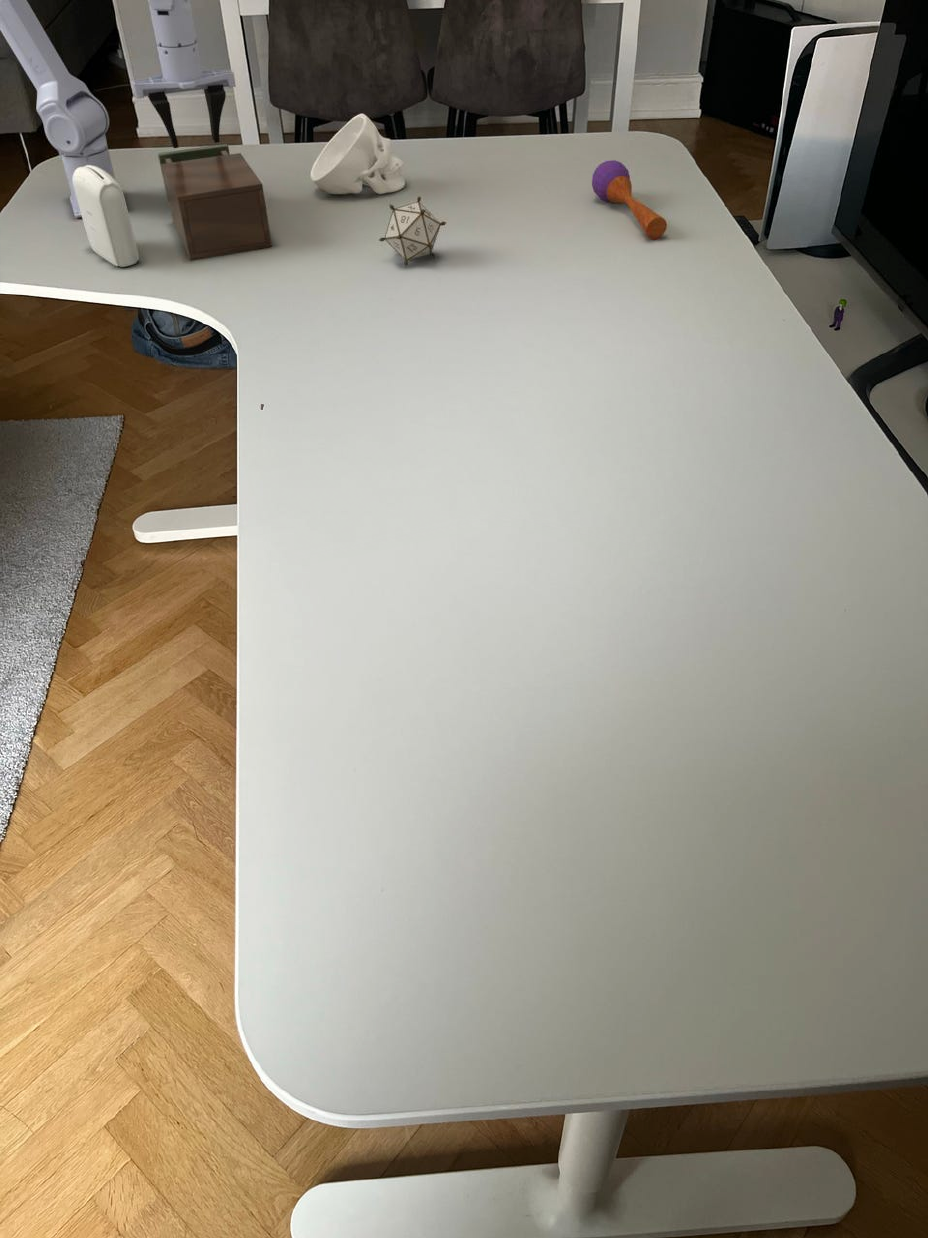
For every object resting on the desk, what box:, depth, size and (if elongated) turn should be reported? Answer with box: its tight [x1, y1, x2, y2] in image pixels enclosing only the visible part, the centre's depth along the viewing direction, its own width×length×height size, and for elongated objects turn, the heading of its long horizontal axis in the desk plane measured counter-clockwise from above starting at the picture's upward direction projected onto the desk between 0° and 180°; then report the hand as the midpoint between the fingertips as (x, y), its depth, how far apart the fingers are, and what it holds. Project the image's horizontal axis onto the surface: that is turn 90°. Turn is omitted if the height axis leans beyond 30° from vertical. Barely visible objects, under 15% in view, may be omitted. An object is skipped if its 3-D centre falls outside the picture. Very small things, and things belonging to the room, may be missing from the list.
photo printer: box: [72, 165, 140, 268], centre depth 142 cm, size 10×4×12 cm, turn 39°
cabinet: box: [160, 152, 273, 261], centre depth 148 cm, size 15×12×9 cm
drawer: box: [157, 143, 231, 203], centre depth 156 cm, size 18×11×7 cm, turn 22°
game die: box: [378, 195, 447, 268], centre depth 141 cm, size 9×8×10 cm
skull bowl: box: [309, 113, 406, 195], centre depth 163 cm, size 10×14×12 cm
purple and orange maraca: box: [591, 159, 668, 240], centre depth 153 cm, size 6×6×20 cm
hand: (195, 143), depth 151 cm, fingers open, 6 cm apart
